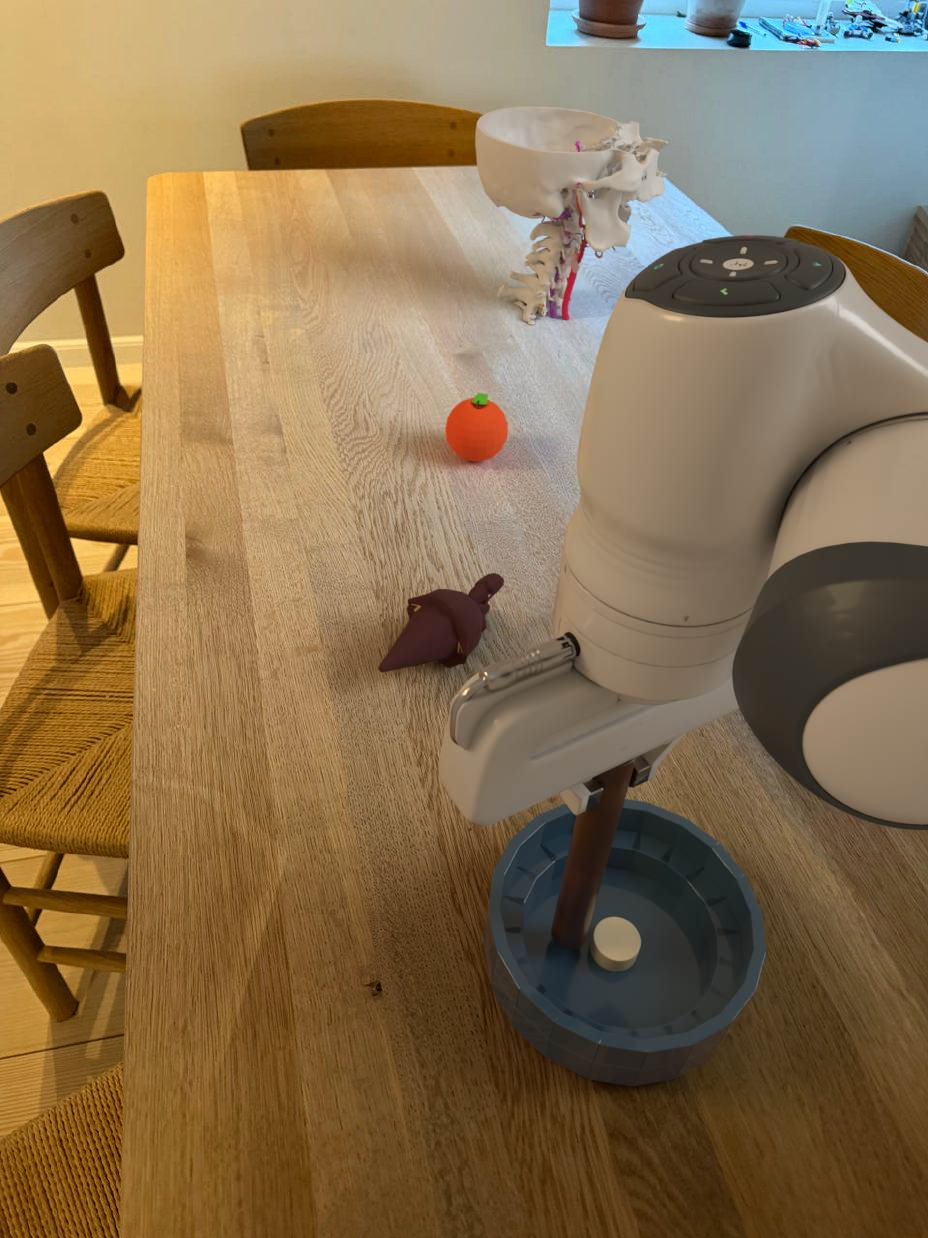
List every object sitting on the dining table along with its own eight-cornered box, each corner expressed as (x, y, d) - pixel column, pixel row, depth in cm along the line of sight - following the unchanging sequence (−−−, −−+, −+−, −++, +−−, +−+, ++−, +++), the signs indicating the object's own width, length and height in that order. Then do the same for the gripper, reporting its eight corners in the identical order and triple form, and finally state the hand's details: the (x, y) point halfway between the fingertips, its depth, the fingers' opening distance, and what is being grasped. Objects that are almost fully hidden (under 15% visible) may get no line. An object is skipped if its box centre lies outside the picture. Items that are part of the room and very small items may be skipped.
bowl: (732, 863, 71) (753, 817, 67) (750, 1111, 59) (778, 1073, 54) (498, 828, 72) (505, 781, 68) (467, 1065, 60) (472, 1024, 56)
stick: (587, 920, 65) (638, 733, 51) (585, 953, 63) (637, 768, 49) (552, 914, 65) (593, 727, 51) (549, 947, 63) (591, 762, 50)
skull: (462, 326, 130) (471, 147, 114) (470, 267, 143) (480, 100, 128) (645, 340, 130) (681, 163, 114) (636, 280, 143) (666, 114, 127)
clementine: (453, 429, 111) (456, 375, 107) (511, 439, 111) (517, 384, 106) (438, 468, 106) (440, 412, 101) (499, 478, 105) (504, 422, 100)
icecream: (422, 675, 75) (537, 595, 84) (358, 613, 77) (477, 541, 86) (400, 723, 80) (511, 642, 89) (341, 663, 82) (455, 590, 91)
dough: (637, 932, 66) (641, 920, 65) (636, 975, 64) (641, 964, 63) (591, 924, 66) (594, 913, 65) (588, 968, 64) (592, 957, 63)
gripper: (493, 737, 37) (473, 916, 47) (861, 579, 45) (780, 760, 55) (417, 635, 41) (413, 820, 51) (769, 506, 49) (708, 687, 59)
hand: (606, 788), depth 53 cm, fingers closed on stick, 2 cm apart
